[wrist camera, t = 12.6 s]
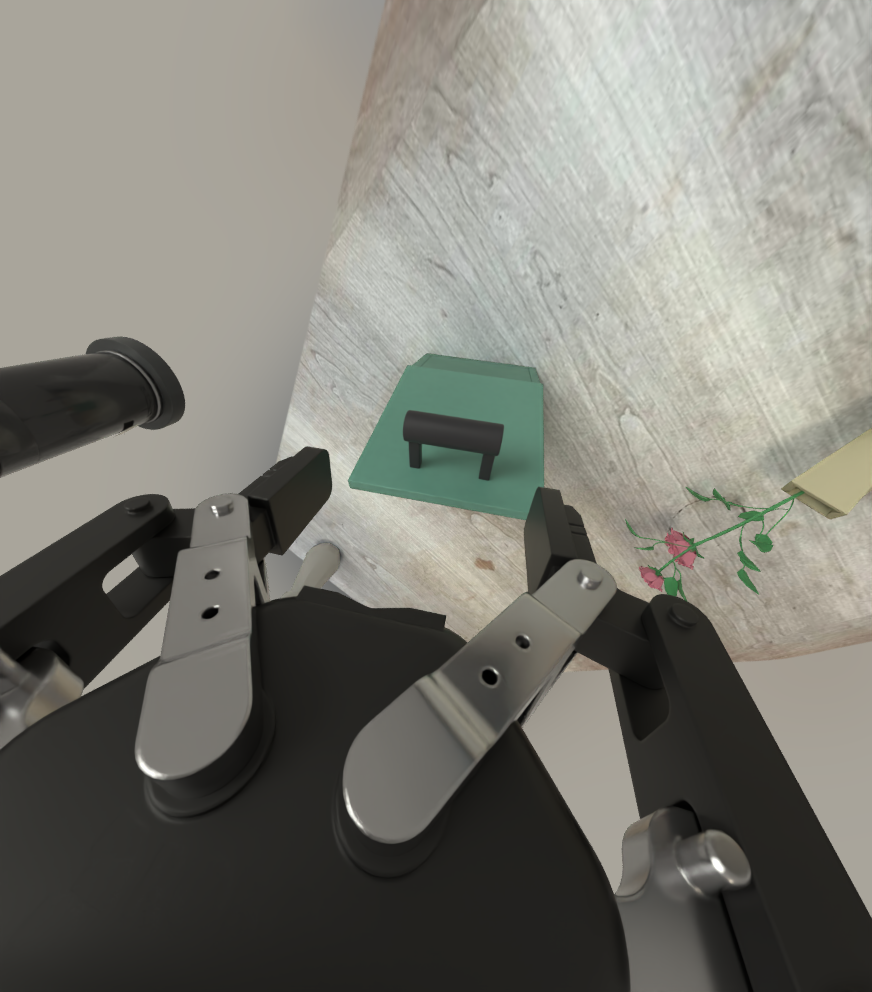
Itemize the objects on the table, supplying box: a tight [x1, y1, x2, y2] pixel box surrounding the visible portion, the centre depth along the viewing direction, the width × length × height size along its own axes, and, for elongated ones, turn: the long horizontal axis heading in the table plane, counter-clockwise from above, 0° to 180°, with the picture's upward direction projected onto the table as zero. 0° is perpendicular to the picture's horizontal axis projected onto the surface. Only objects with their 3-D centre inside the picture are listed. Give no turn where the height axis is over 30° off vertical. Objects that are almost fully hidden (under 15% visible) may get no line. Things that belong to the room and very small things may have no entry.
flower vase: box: [625, 428, 872, 601], centre depth 32 cm, size 12×12×35 cm
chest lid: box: [348, 365, 544, 520], centre depth 23 cm, size 14×12×5 cm
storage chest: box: [412, 354, 540, 383], centre depth 36 cm, size 14×12×8 cm
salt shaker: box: [280, 543, 340, 598], centre depth 52 cm, size 6×6×13 cm
